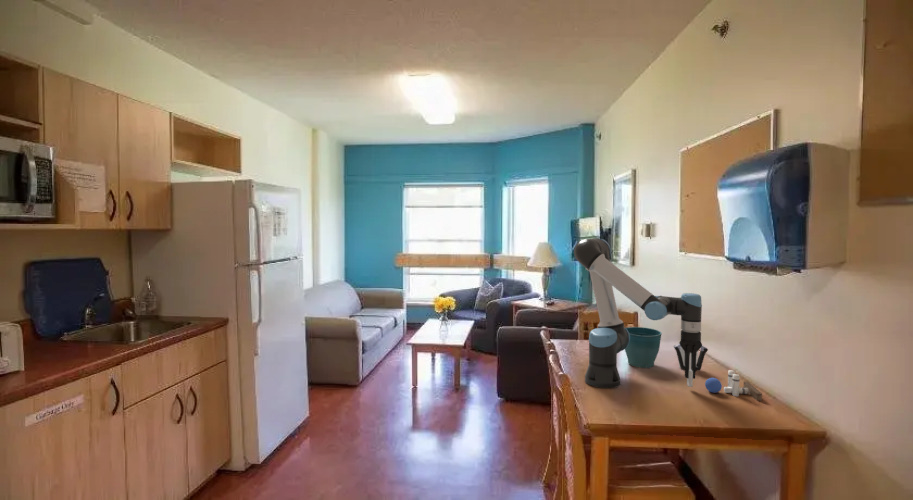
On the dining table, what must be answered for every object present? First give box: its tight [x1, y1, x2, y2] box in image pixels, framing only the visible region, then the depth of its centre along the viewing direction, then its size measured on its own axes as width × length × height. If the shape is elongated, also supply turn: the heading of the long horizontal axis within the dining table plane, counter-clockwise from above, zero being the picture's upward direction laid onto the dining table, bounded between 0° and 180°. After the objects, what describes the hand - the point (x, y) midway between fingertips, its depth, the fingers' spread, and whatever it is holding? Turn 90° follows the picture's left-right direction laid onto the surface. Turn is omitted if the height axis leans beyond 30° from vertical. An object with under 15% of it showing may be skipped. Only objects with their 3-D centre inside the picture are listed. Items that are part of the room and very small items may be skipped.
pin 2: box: [731, 373, 740, 398], centre depth 182 cm, size 2×2×8 cm
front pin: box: [723, 386, 750, 395], centre depth 184 cm, size 2×2×8 cm
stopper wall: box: [742, 380, 763, 402], centre depth 183 cm, size 2×14×3 cm, turn 166°
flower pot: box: [624, 326, 663, 369], centre depth 222 cm, size 18×18×17 cm
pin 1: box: [727, 369, 736, 387], centre depth 187 cm, size 2×2×8 cm
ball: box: [704, 377, 723, 394], centre depth 185 cm, size 6×6×6 cm
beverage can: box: [678, 347, 699, 370], centre depth 215 cm, size 8×8×12 cm
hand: (689, 385), depth 188 cm, fingers closed
